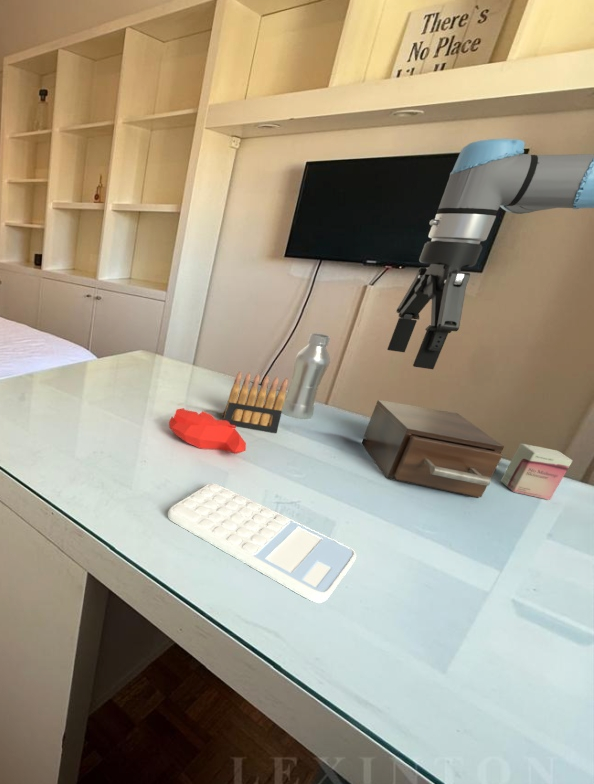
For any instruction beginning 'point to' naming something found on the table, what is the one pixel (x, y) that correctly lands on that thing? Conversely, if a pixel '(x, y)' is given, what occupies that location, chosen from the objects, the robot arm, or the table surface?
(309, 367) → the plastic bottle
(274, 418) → the ammunition clip
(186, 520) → the calculator
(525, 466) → the small box
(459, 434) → the cabinet
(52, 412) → the table surface
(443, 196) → the robot arm
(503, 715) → the table surface
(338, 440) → the table surface
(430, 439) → the drawer
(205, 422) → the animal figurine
